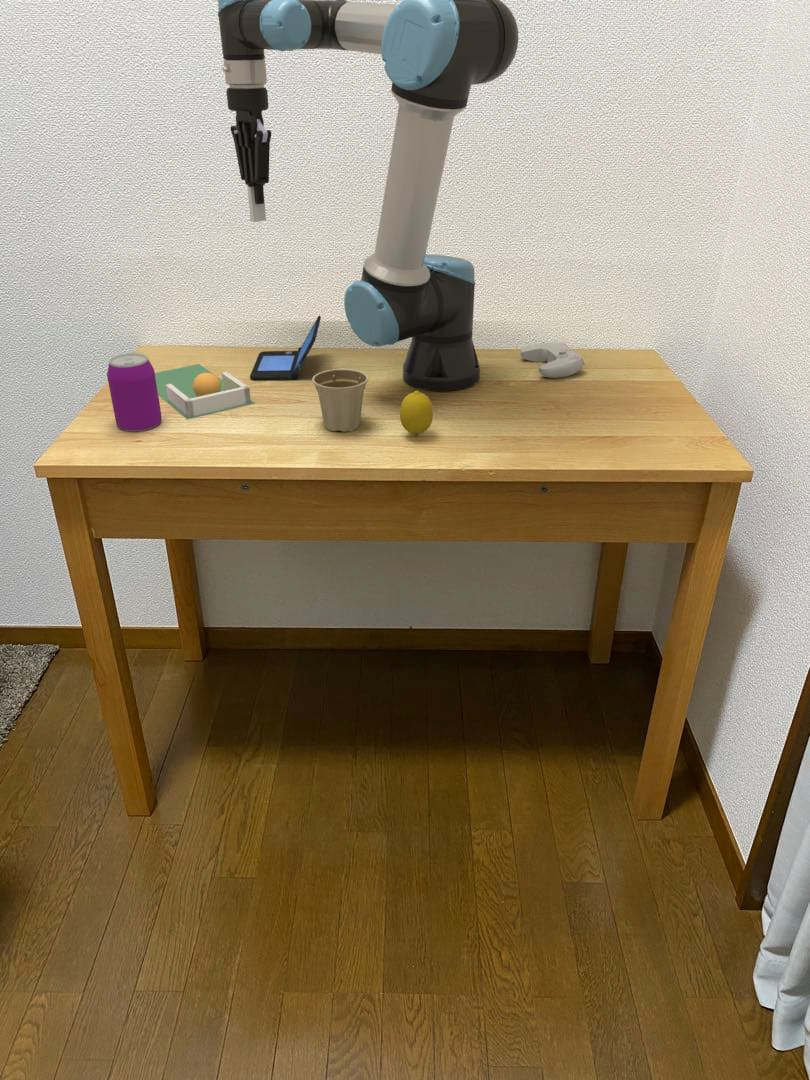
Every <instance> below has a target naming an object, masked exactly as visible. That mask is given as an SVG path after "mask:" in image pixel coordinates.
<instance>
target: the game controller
mask: <svg viewBox="0 0 810 1080" xmlns="http://www.w3.org/2000/svg"><path fill="white" fill-rule="evenodd" d="M519 352H520V354H519V355H520V356H521V358H523V359H524V360H526V361H530V362H533V363H534V362H536V363H537V362H538V363H544V364H541V366H538V373H539V374H541V375H542V376H543V377H544V378H545V377H546V378H548V379H562V378H566V377H570V376H573V375H574V374H577V373H578V372H579V371H581V370H582V369H583V367H584V366H585V365H586V363H585V361H584V358H583V355H582V354H580V353H577V352H576V351H574V350H573V349H572V348H571V347H569V346H568V345H567V343H566V342H562V341H552V342H551V341H550V342H542V343H537V344H532V345H529V346H525V347H522V348H521V349H520V351H519Z"/></svg>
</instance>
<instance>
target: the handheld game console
mask: <svg viewBox="0 0 810 1080" xmlns="http://www.w3.org/2000/svg"><path fill="white" fill-rule="evenodd" d="M321 320H322V316H321V315H318V316H317V317H316V320H315V322H314V323H313V325H312V327H311V329H310V330H309V332H308V334H307V336H306V337H305V339H304V341H303V343H302V345H301V346H300V347H298V349H297V350H268V351H267V350H263V351H261V352H259V354H258V356H257V358H256V361H255V363H254V365H253V367H252V370H251V372H250V375H249V379H250V381H252V382H253V381H254V382H270V381H271V382H277V381H278V382H283V381H285V382H288V381H297V380H298V376H299V372H300V369H301V367H302V365H303V363H304V362H305V361H306V358H307V356H308V355H309V353H310V351H311V350H312V349H313V348H312V347H313V346H314V344H315V342H316V338H317V335H318V331H319V328H320V322H321Z"/></svg>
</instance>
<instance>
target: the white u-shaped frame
mask: <svg viewBox="0 0 810 1080" xmlns="http://www.w3.org/2000/svg"><path fill="white" fill-rule="evenodd" d="M221 378H222V379H221V380H222V381H223V388H224V389H226V391H222V392H218V393H213V394H209V395H204V396H200V397H195V398H191V399H189V398H188V397H187V396H186V395H184V394H183V393H182V392H181V391H179V390H178V389H177V388H176V387H174V386H173V385H172V384H167V385H166V390H167V397H168V401H170V402H171V403H172V404H173V405H174V406H175V407H177V408H178V409H179V410H180V411H181V412H183V413H184V414H185V415H186V416H187V417H189V418H190V417H194V416H198V415H203V414H207V413H211V412H215V411H219V410H224V409H228V408H232V407H236V406H241V405H245V404H249V403H251V401H252V399H251V390H250V387H249V386H248V385H246V384H245V383H244V382H242V381H241V380H239V379H237V378H236V377H235V376H233V375H232V374H230V373H229V372H228V371H223V372H221Z"/></svg>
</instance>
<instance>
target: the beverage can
mask: <svg viewBox="0 0 810 1080" xmlns="http://www.w3.org/2000/svg"><path fill="white" fill-rule="evenodd" d="M155 373H156V372H155V369H154V367H153V365H152V363H151V361H150V359H149V358H148V356H147V354H144V353H138V352H129V353H121V354H117V355H115V356H112V357H111V358H109V362H108V368H107V372H106V377H107V383H108V387H109V393H110V394H109V395H110V398H111V404H112V409H113V414H114V420H115V423H116V425H117V427H118V428H119V429H121V430H123V431H125V432H126V431H127V432H144V431H148V430H152V429H154V428H156V427H158V426H159V425H160V424H161V422H162V420H163V419H162V410H161V404H160V398H159V397H160V396H159V395H158V391H157V384H156V378H155Z"/></svg>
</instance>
